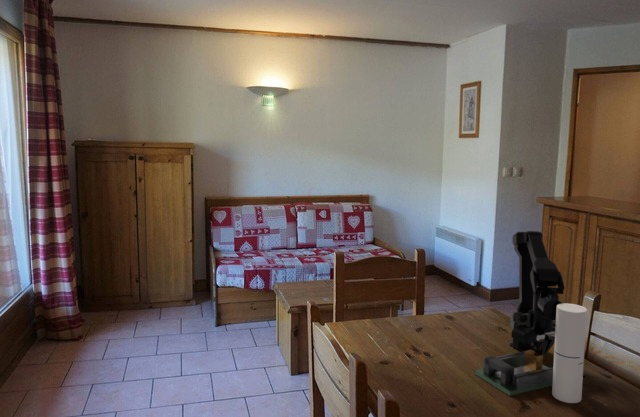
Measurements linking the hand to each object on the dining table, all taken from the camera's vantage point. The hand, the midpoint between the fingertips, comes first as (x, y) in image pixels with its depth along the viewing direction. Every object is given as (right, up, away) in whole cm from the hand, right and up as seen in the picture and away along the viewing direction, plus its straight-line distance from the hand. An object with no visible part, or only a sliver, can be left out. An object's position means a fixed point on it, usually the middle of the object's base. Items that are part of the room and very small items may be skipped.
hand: (540, 359), depth 145 cm
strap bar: (-8, -3, -3) cm, 9 cm away
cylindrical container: (+1, -6, -13) cm, 14 cm away
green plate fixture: (-7, -5, -2) cm, 9 cm away
